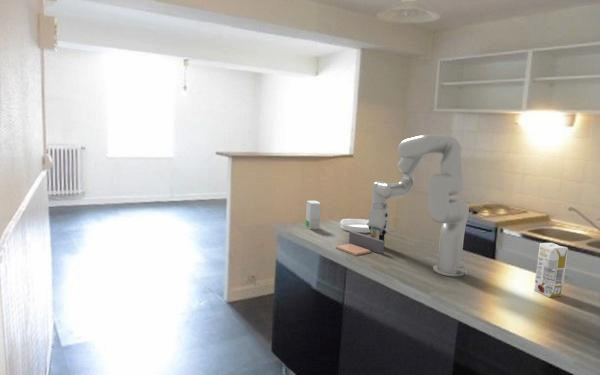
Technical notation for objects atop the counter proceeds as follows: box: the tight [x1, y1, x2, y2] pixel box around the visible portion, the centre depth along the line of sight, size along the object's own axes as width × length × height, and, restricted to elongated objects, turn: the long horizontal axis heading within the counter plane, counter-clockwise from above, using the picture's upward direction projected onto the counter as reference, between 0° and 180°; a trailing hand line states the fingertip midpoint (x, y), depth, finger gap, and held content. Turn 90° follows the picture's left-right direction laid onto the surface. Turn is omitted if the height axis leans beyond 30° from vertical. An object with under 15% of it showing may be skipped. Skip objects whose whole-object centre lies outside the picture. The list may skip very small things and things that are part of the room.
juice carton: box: [533, 242, 569, 298], centre depth 161 cm, size 8×9×19 cm
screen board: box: [348, 231, 385, 255], centre depth 214 cm, size 22×2×6 cm, turn 38°
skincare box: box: [304, 200, 322, 230], centre depth 251 cm, size 8×7×16 cm
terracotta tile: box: [335, 243, 371, 256], centre depth 209 cm, size 14×10×1 cm
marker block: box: [370, 227, 386, 239], centre depth 218 cm, size 5×5×9 cm
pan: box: [339, 218, 371, 234], centre depth 255 cm, size 24×27×4 cm
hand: (377, 240), depth 219 cm, fingers closed on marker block, 5 cm apart
